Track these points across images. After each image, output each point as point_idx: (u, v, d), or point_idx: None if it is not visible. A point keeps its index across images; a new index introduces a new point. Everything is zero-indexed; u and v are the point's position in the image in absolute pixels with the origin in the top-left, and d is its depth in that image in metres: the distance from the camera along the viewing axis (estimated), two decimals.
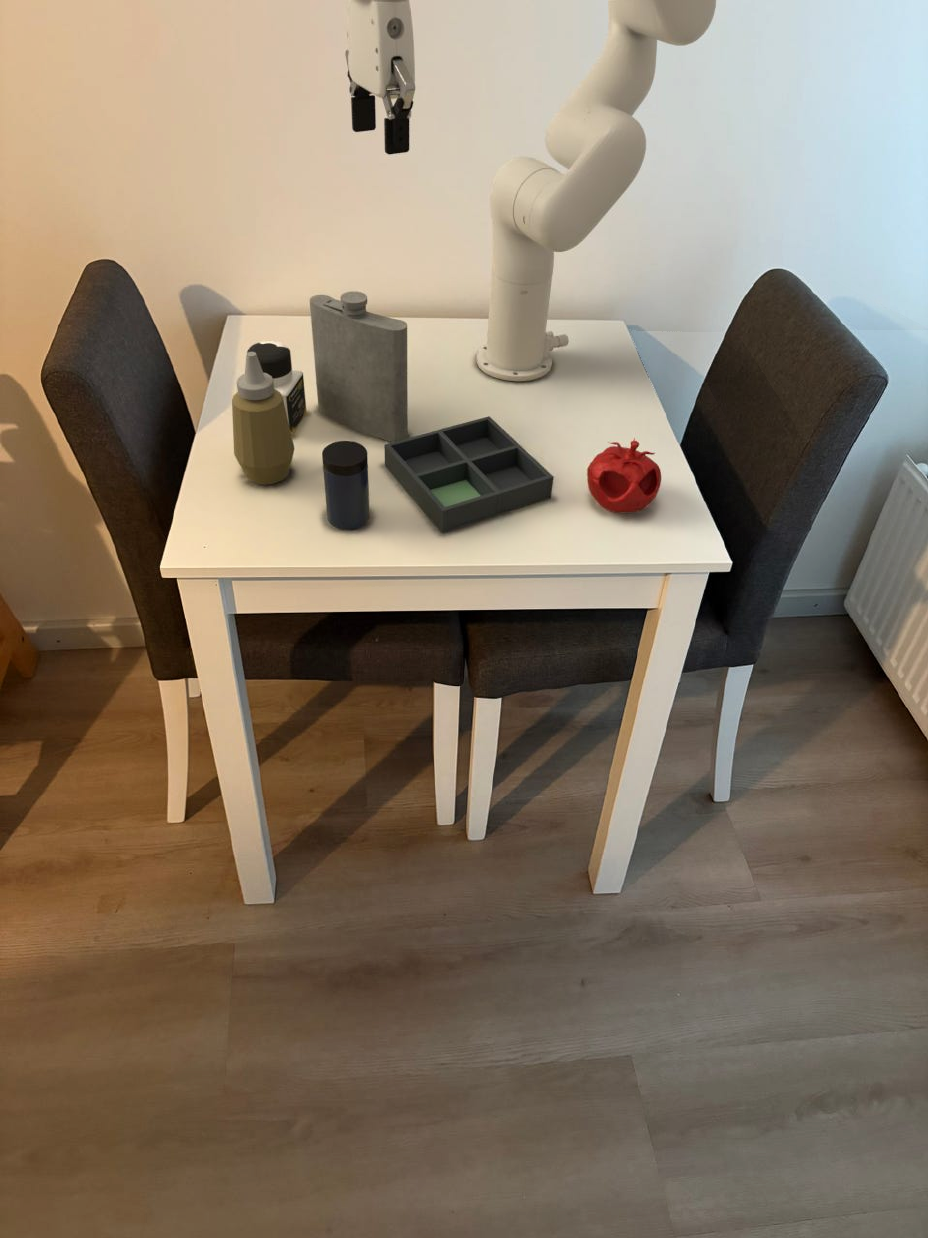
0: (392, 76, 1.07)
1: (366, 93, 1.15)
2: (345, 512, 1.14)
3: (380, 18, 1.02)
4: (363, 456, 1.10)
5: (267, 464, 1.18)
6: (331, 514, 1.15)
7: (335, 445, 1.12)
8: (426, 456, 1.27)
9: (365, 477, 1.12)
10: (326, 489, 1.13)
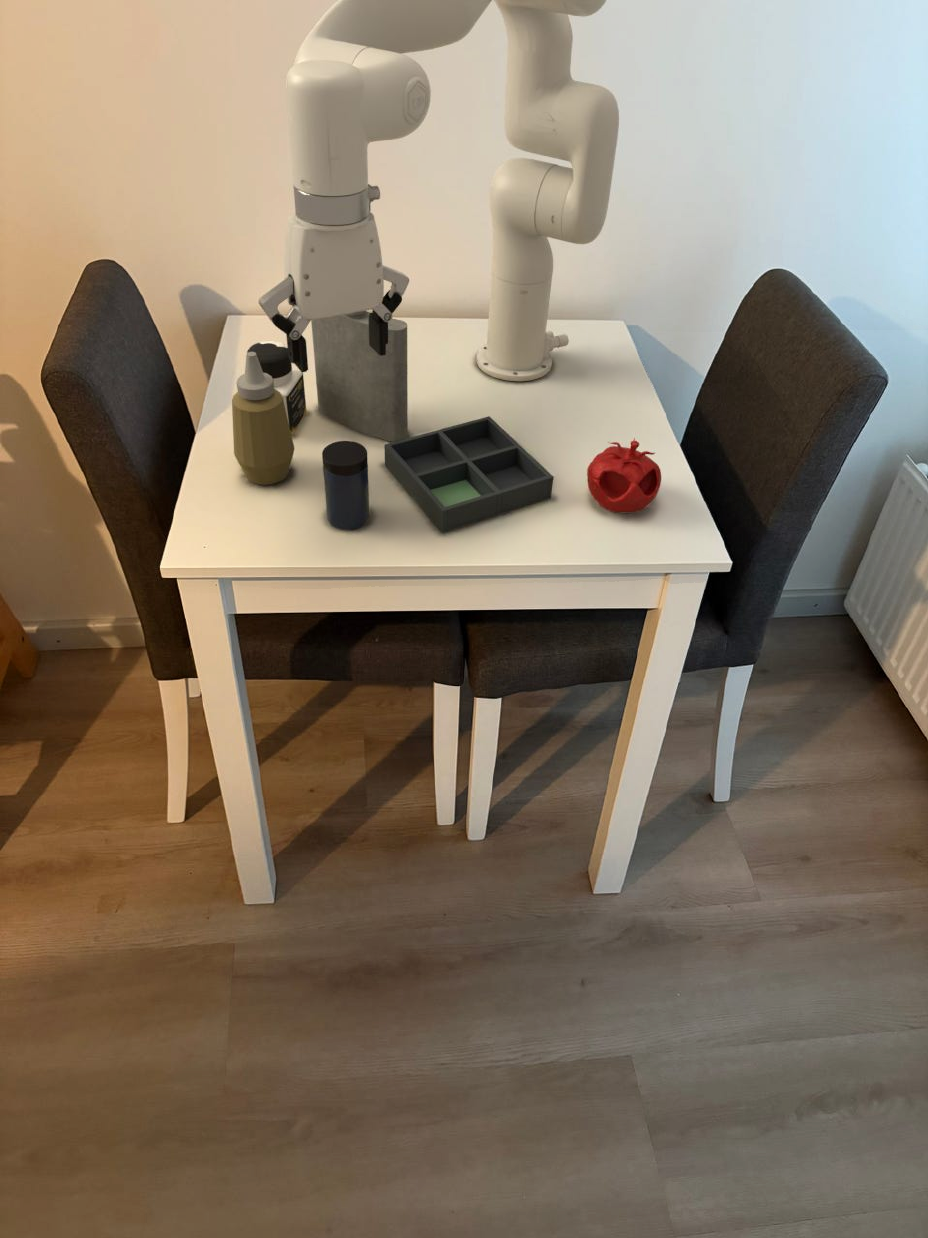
0: None
1: None
2: (345, 512, 1.14)
3: (377, 233, 0.94)
4: (363, 456, 1.10)
5: (267, 464, 1.18)
6: (331, 514, 1.15)
7: (335, 445, 1.12)
8: (426, 456, 1.27)
9: (365, 477, 1.12)
10: (326, 489, 1.13)
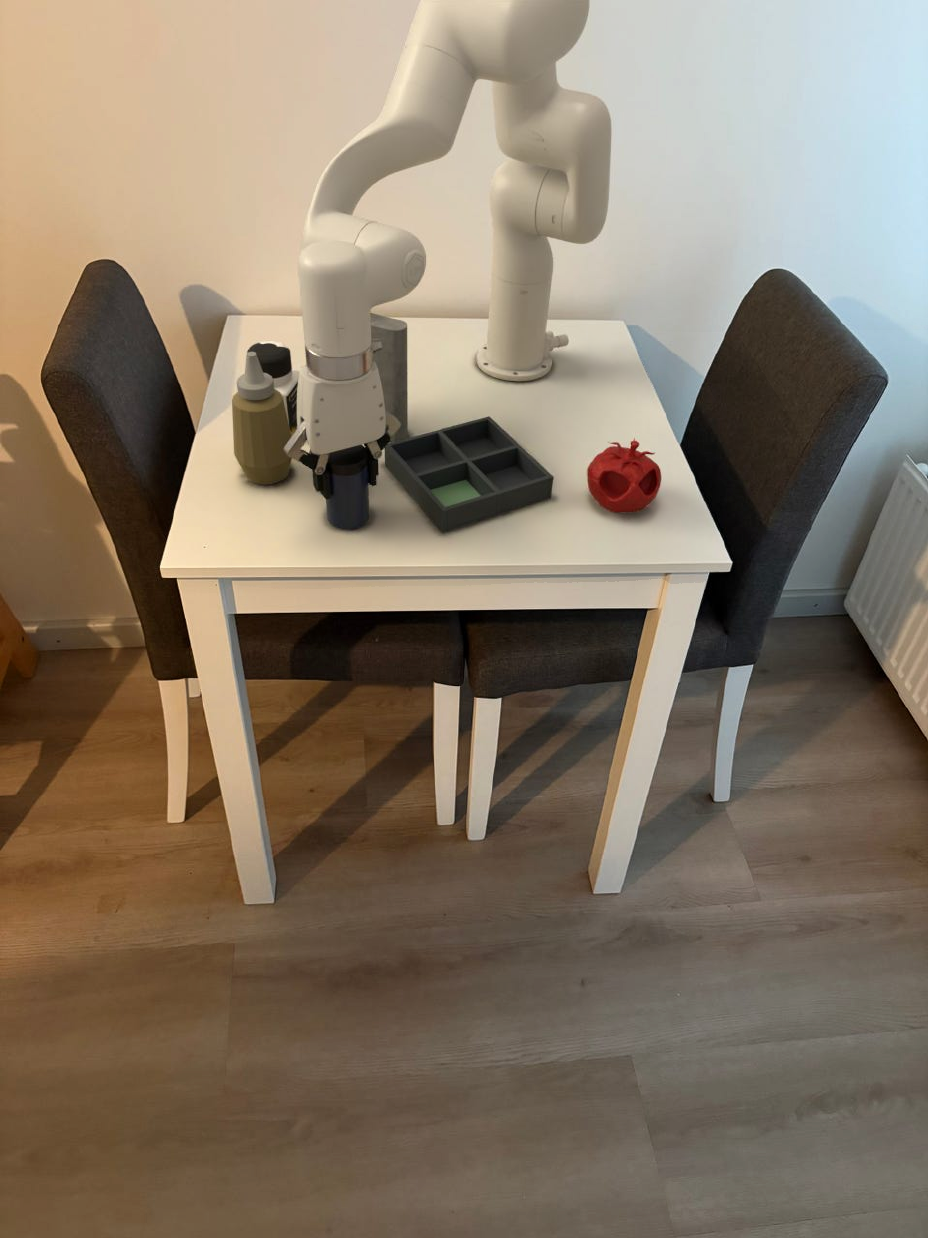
0: None
1: None
2: (345, 512, 1.14)
3: None
4: (363, 456, 1.10)
5: (267, 464, 1.18)
6: (331, 514, 1.15)
7: None
8: (426, 456, 1.27)
9: (365, 477, 1.12)
10: None
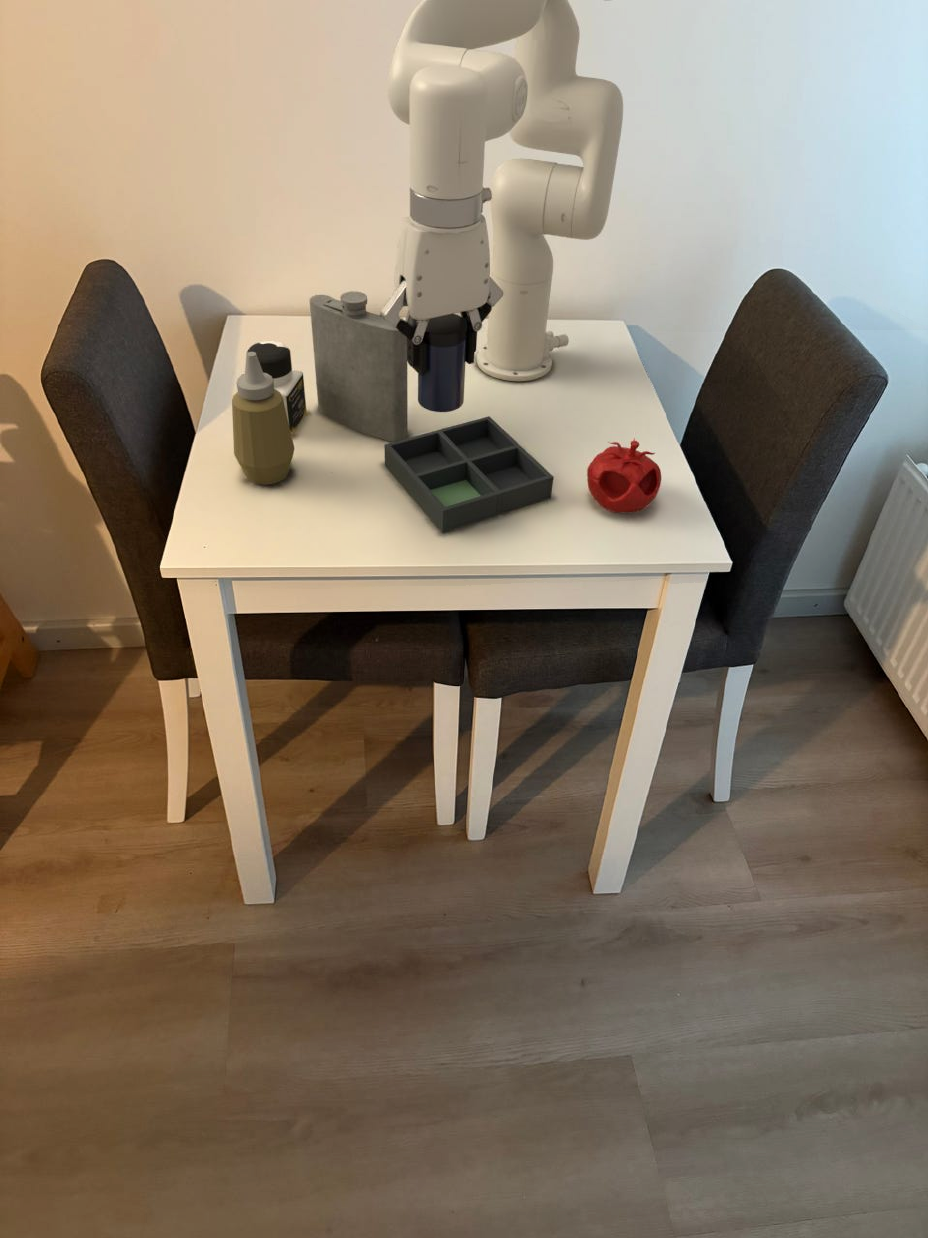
0: None
1: None
2: (440, 391, 1.05)
3: (487, 234, 0.95)
4: (463, 326, 1.01)
5: (267, 464, 1.18)
6: (425, 394, 1.06)
7: None
8: (426, 456, 1.27)
9: (464, 351, 1.03)
10: None
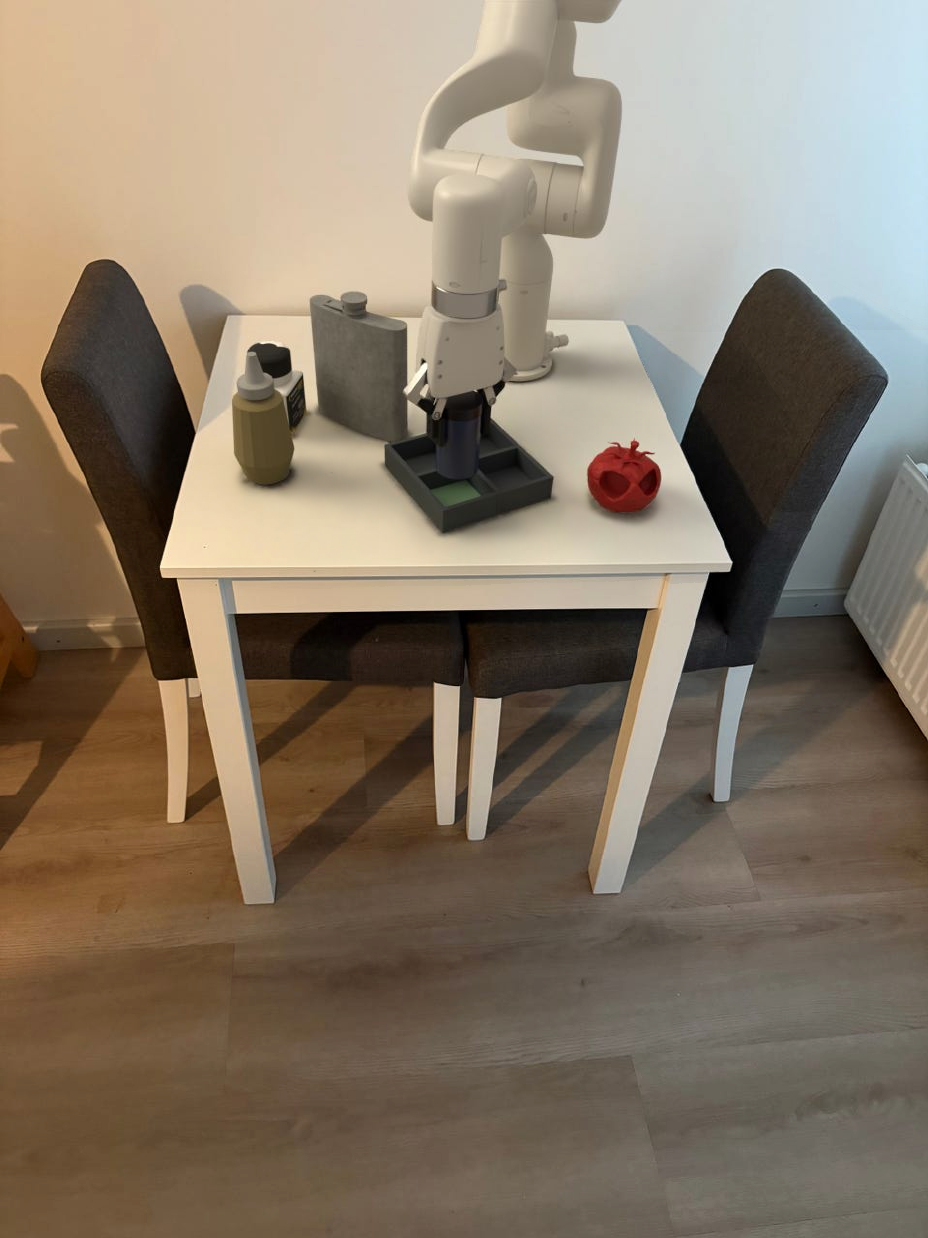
0: None
1: None
2: (457, 461, 1.12)
3: (503, 320, 1.03)
4: (479, 402, 1.09)
5: (267, 464, 1.18)
6: (442, 462, 1.13)
7: None
8: (426, 456, 1.27)
9: (479, 424, 1.10)
10: None
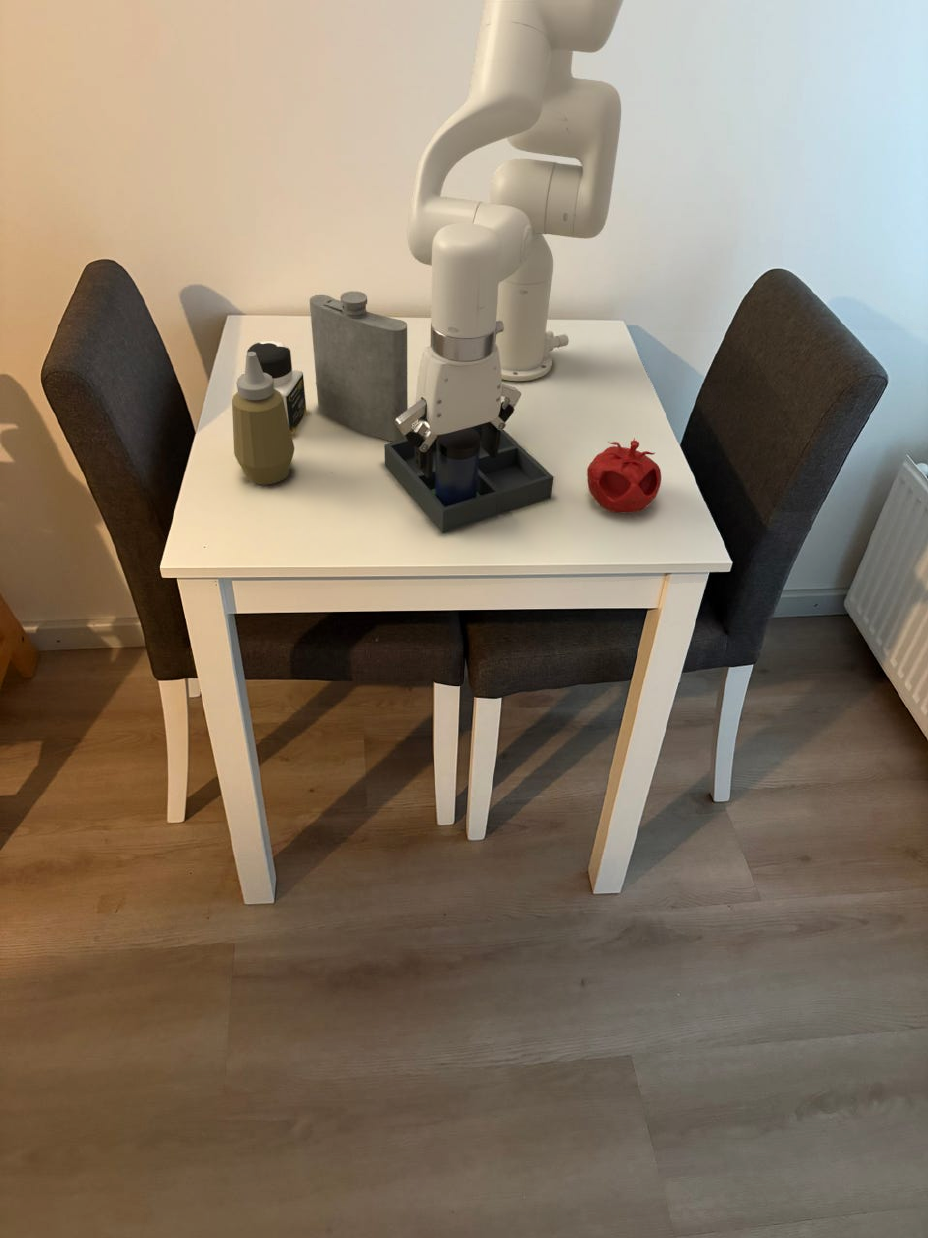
0: None
1: None
2: (456, 496, 1.16)
3: (500, 361, 1.06)
4: (477, 440, 1.12)
5: (267, 464, 1.18)
6: (441, 497, 1.17)
7: None
8: None
9: (477, 462, 1.14)
10: (438, 473, 1.15)
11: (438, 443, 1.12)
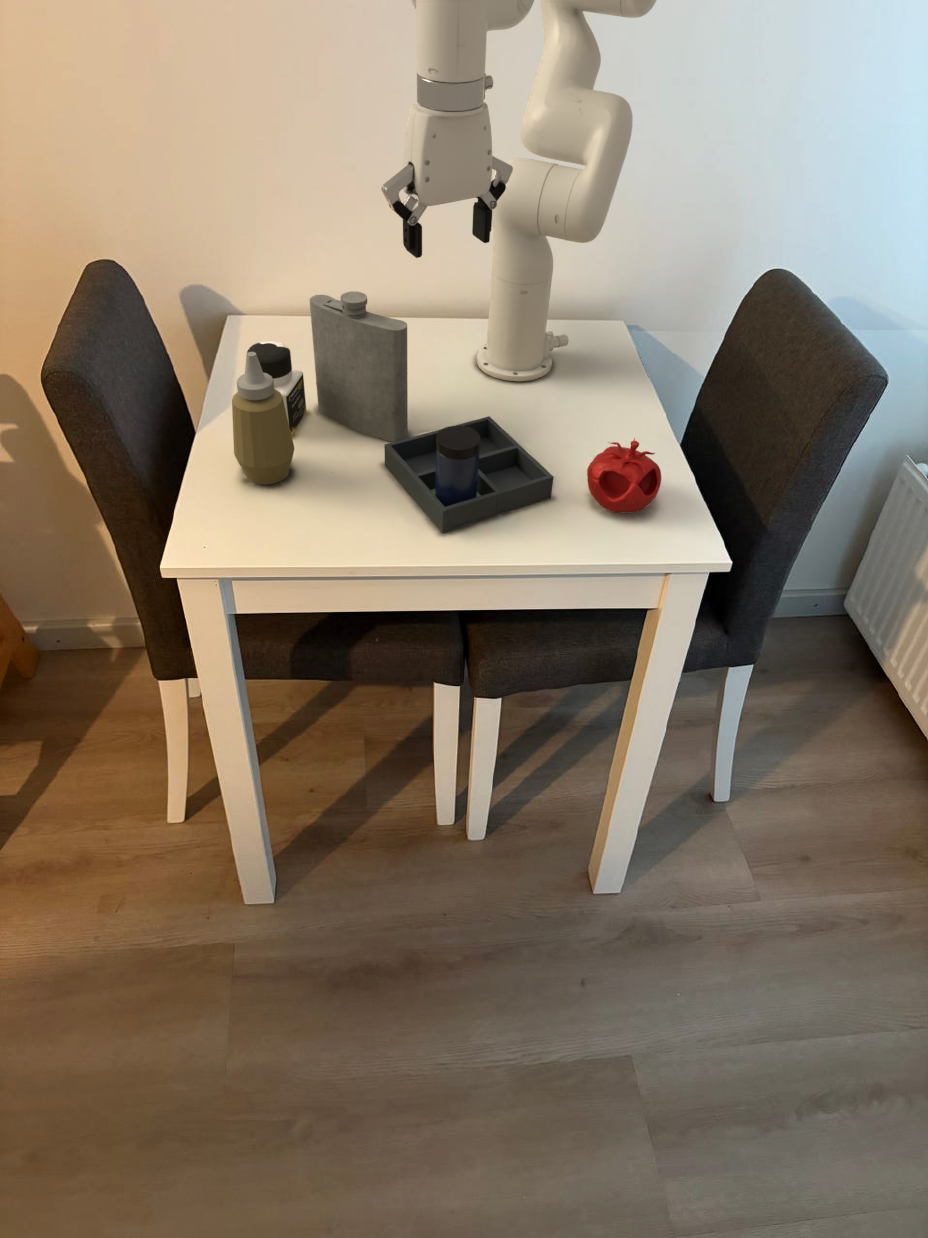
0: None
1: None
2: (456, 496, 1.16)
3: None
4: (477, 440, 1.12)
5: (267, 464, 1.18)
6: (441, 497, 1.17)
7: (448, 430, 1.14)
8: (426, 456, 1.27)
9: (477, 462, 1.14)
10: (438, 473, 1.15)
11: (438, 443, 1.12)
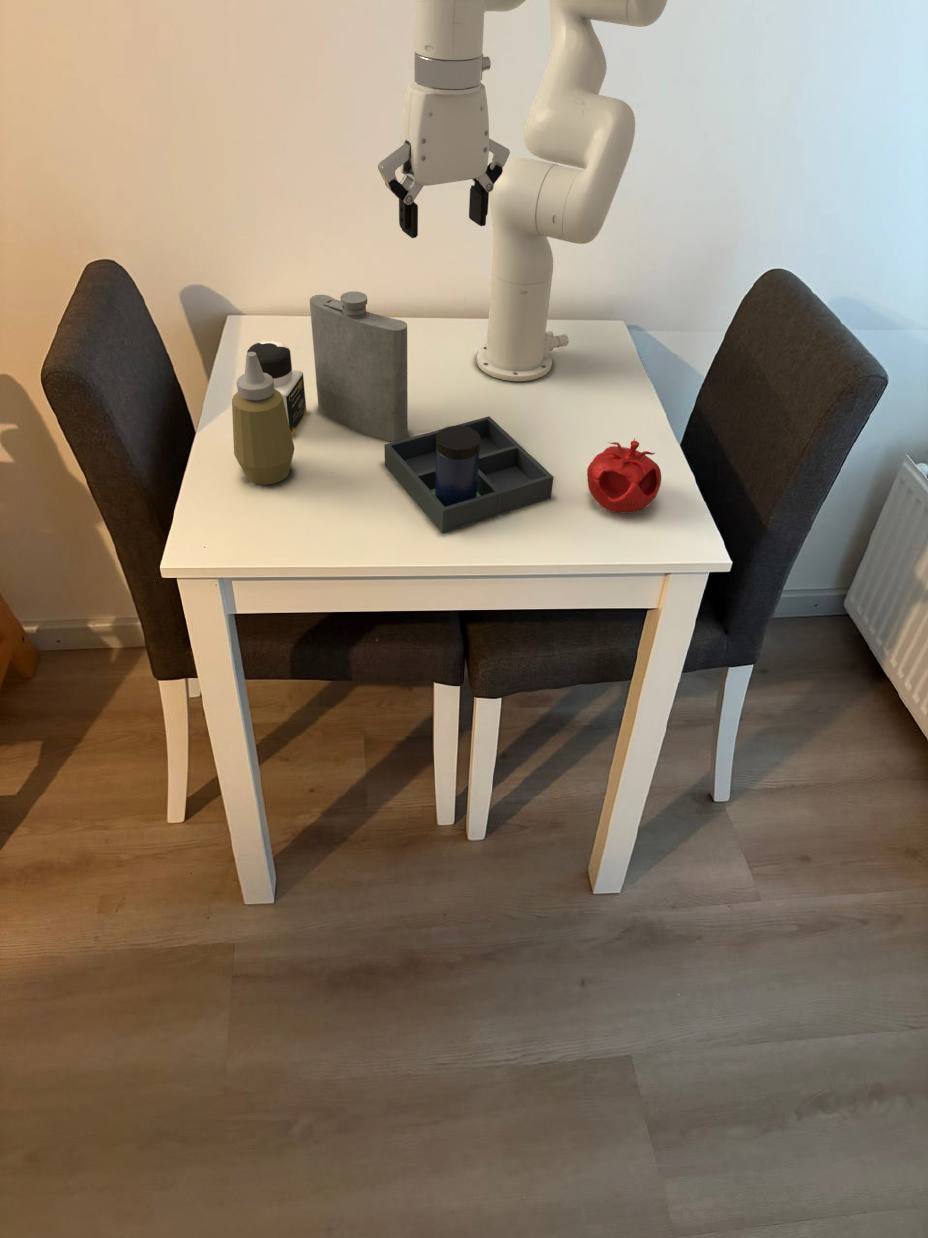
0: None
1: None
2: (456, 496, 1.16)
3: None
4: (477, 440, 1.12)
5: (267, 464, 1.18)
6: (441, 497, 1.17)
7: (448, 430, 1.14)
8: (426, 456, 1.27)
9: (477, 462, 1.14)
10: (438, 473, 1.15)
11: (438, 443, 1.12)
